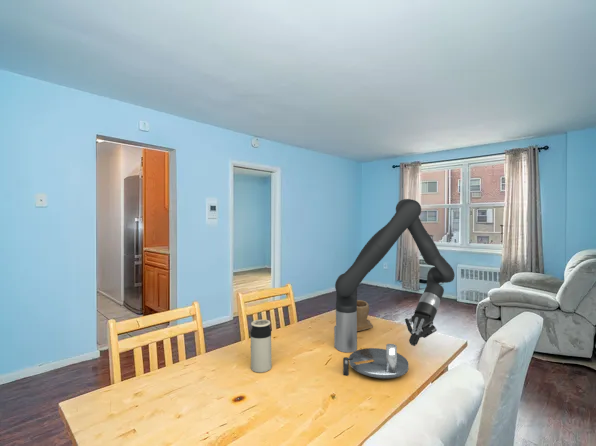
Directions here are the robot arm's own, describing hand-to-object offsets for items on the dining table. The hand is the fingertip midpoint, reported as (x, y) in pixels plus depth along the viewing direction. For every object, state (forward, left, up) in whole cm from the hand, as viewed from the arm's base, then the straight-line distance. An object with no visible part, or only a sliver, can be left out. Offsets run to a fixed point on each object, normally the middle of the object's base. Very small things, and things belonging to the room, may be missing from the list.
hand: (412, 344), depth 122 cm
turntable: (-9, -9, -8) cm, 15 cm away
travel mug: (-40, -42, -10) cm, 59 cm away
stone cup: (-41, +21, -10) cm, 47 cm away
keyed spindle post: (-9, -13, -10) cm, 19 cm away
